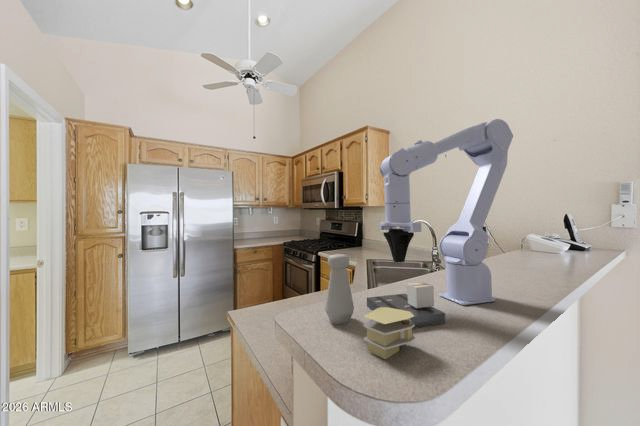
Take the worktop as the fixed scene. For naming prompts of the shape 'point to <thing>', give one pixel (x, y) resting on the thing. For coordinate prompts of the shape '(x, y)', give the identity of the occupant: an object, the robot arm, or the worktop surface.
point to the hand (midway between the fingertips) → (399, 261)
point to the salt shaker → (339, 291)
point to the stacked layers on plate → (388, 330)
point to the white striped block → (420, 295)
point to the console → (408, 309)
